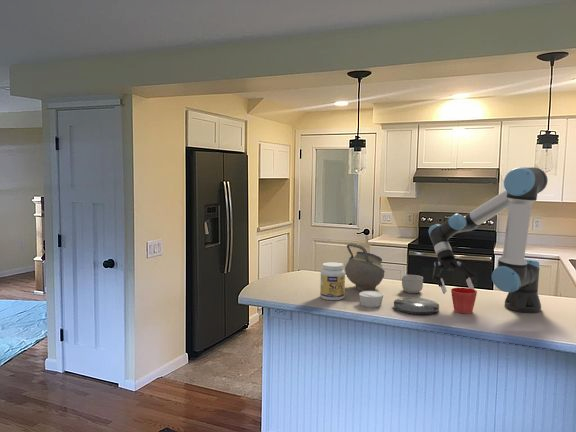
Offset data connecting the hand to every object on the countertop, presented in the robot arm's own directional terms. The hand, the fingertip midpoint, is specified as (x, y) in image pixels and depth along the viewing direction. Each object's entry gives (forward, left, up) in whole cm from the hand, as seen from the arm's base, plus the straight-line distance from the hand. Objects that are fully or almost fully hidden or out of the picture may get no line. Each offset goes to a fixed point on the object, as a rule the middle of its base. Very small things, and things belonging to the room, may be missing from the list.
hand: (458, 291), depth 213 cm
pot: (+51, +4, -8) cm, 52 cm away
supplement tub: (+51, +29, -8) cm, 59 cm away
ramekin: (+31, +24, -8) cm, 40 cm away
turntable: (+13, +14, -8) cm, 21 cm away
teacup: (+32, -11, -8) cm, 35 cm away
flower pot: (-3, +1, -8) cm, 9 cm away
